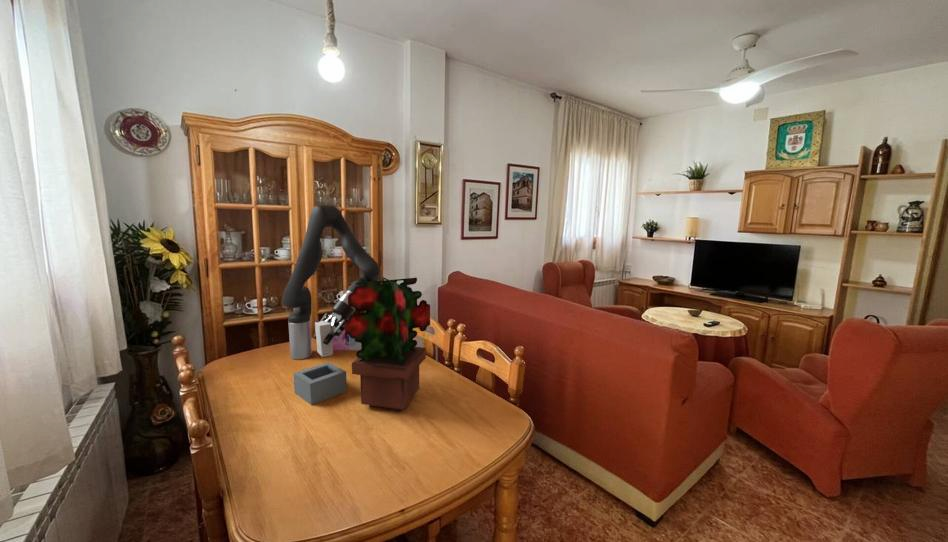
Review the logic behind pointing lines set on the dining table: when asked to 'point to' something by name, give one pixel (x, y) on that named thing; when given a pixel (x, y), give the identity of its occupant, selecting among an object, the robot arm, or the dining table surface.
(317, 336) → the skincare box
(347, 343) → the gum box
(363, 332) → the potted plant
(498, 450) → the dining table surface
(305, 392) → the drop box
